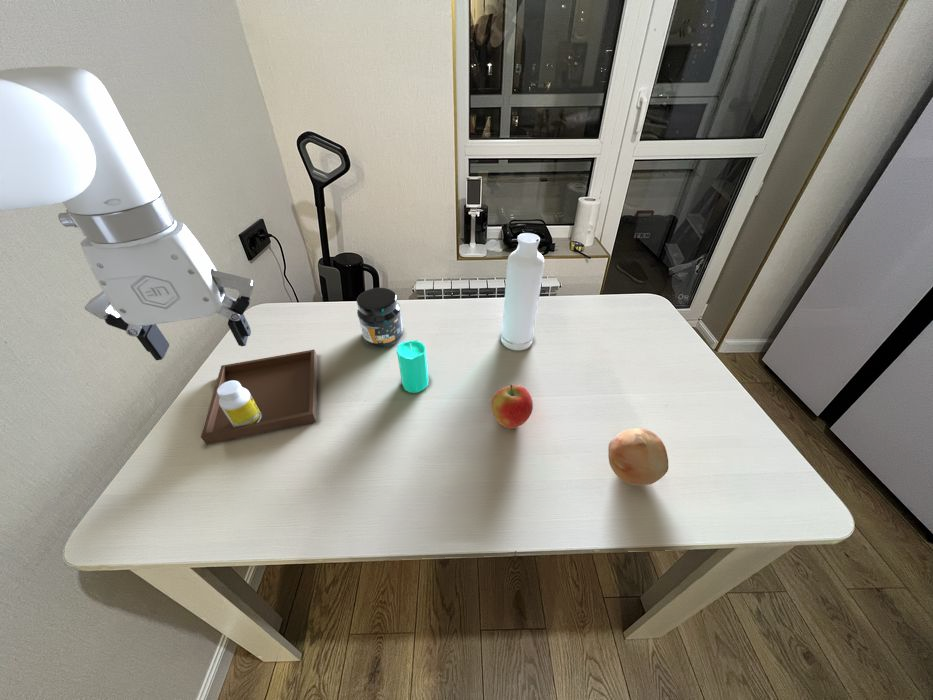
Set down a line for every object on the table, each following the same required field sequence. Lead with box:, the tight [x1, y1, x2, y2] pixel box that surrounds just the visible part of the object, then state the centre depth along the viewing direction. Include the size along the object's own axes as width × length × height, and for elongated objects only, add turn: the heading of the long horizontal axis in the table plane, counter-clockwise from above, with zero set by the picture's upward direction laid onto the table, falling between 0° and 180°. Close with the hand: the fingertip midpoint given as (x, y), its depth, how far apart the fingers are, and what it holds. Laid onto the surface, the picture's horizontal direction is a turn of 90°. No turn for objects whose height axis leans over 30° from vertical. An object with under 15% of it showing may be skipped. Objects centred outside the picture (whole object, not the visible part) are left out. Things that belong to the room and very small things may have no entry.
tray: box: [200, 348, 318, 446], centre depth 82 cm, size 21×21×3 cm
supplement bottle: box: [217, 381, 261, 427], centre depth 74 cm, size 5×5×10 cm
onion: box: [607, 427, 669, 486], centre depth 66 cm, size 10×10×10 cm
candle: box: [396, 340, 429, 394], centre depth 82 cm, size 6×6×12 cm
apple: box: [490, 384, 534, 429], centre depth 75 cm, size 8×8×10 cm
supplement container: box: [356, 287, 404, 348], centre depth 95 cm, size 10×10×12 cm
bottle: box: [500, 232, 546, 351], centre depth 89 cm, size 8×8×28 cm
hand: (204, 346), depth 50 cm, fingers open, 9 cm apart
